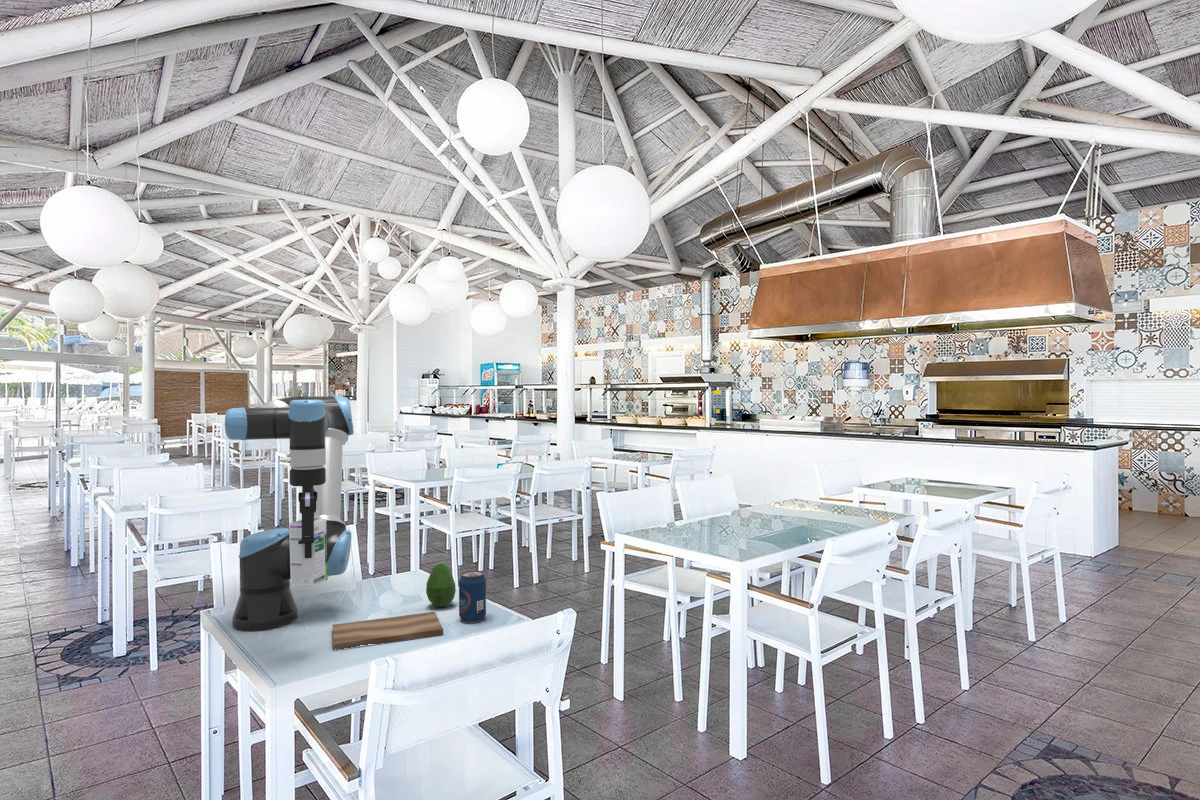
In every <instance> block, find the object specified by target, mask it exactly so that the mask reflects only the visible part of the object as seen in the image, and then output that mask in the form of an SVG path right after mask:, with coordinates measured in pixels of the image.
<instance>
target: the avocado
mask: <svg viewBox="0 0 1200 800" xmlns="http://www.w3.org/2000/svg"><path fill="white" fill-rule="evenodd" d="M454 579H455V578H454V577H453V574H452V573H451V570H450V569H449V567H448V566H447V564H445V563H444V562H439V563H437V564H435V565H434V566H433V568H432V569H431V572H430V573H429V576H428V579H427V581H426V588H425V589H426V590H425V593H426V596H427V599H428V601H429V602H430V603H431V604H432V605H433V606H435V607H442V608H444V607H446V606H448V605H450V604H451V603H452V602H453V600H454V599H455V595H456V590H457V589H456V582H455V580H454Z"/></svg>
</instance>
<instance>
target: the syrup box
mask: <svg viewBox="0 0 1200 800" xmlns="http://www.w3.org/2000/svg"><path fill="white" fill-rule="evenodd" d="M288 529H289V540H290V575H291V579H290V587H297V588H298V587H299V588H301V587H302V588H314V587H315V586H317V585H320V584H322V583H324V582H327V581H328V578H329V577H328V572H327V535H326V519H323V518H314V538H315V541H314V542H315V572H307V573H302V552H301V544H298V541H301V538H302V519H300V520H295V521H294V522H289V523H288ZM305 537H310V536H305Z"/></svg>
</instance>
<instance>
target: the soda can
mask: <svg viewBox="0 0 1200 800" xmlns="http://www.w3.org/2000/svg"><path fill="white" fill-rule="evenodd" d="M484 574H485V573H484V571H480V570H467V571H464V572H462V573H461V574H460V578H459V579H458V615H459V618H460V619H461V622H463V623H465V624H474V623H479V622H480V623H481V622H482V621H483V620H484V619H485V617H486V614H487V579H486V577H485V575H484Z"/></svg>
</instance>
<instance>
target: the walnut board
mask: <svg viewBox="0 0 1200 800" xmlns="http://www.w3.org/2000/svg"><path fill="white" fill-rule="evenodd" d="M331 626H332V627H331V628H332V651H333V650H335V649H336V650H335V651H338V650H337V649H342V650H345V649H344V648H349V649H352V648H351V647H356V646H360V645H368V644H377V645H382V644H381V643H384V644H391V643H397V642H404V641H411V640H418V639H425V638H431V637H438V636H439V637H440V636H444V628H443V626H442V624H441V622H440V620H439V618H438V616H437V614H436V612H435V611H431V612H430V611H429V612H421V613H413V614H407V615H406V614H405V615H398V616H391V617H389V616H388V617H384V618H383V617H382V618H374V619H366V620H360V621H351V622H343V623H334V624H331ZM390 642H391V643H390ZM356 648H357V647H356Z"/></svg>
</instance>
